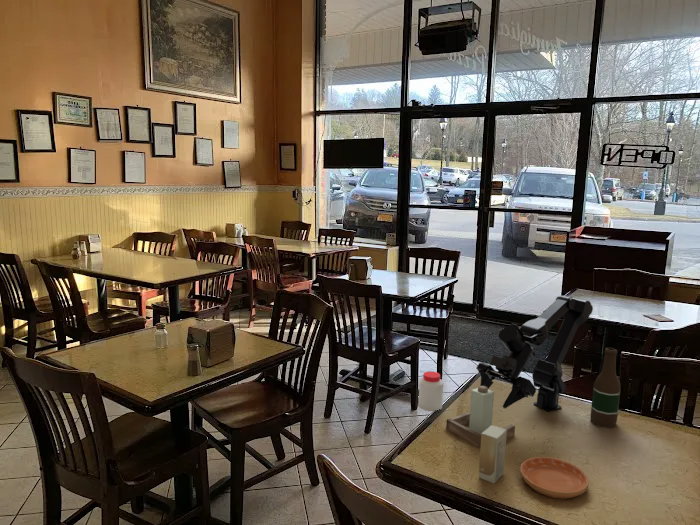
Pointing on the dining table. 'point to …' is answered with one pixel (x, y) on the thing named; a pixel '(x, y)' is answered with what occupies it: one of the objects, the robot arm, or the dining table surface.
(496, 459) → the skincare box
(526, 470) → the saucer
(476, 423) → the block
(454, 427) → the box
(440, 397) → the pill bottle
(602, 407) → the beer bottle
